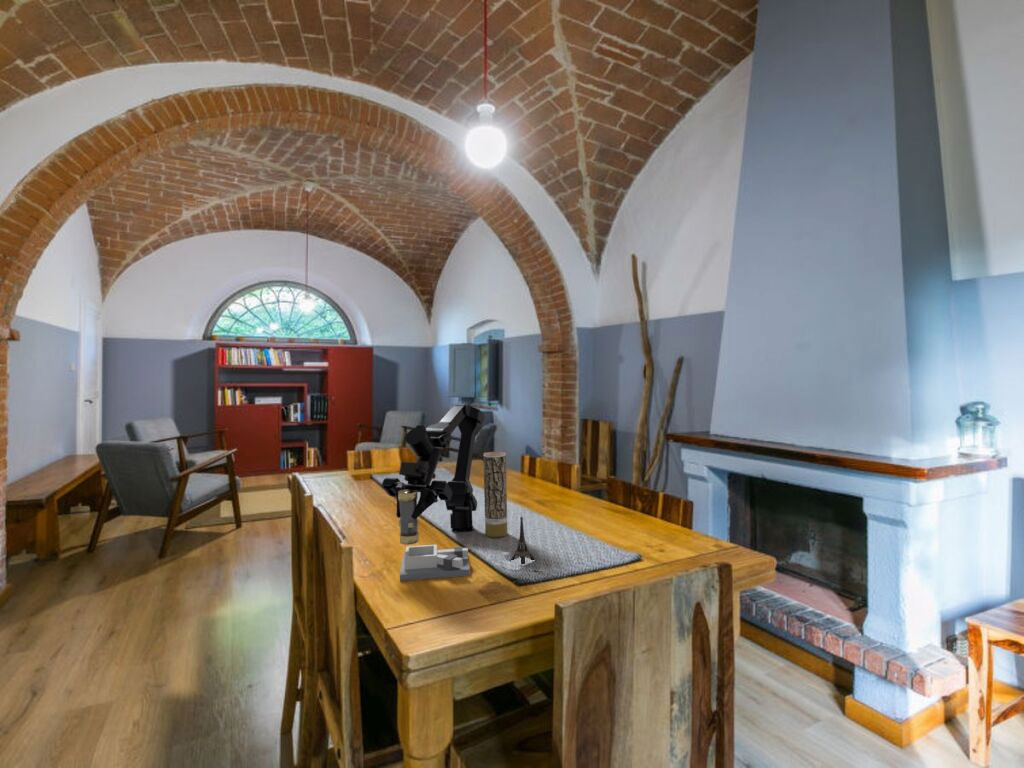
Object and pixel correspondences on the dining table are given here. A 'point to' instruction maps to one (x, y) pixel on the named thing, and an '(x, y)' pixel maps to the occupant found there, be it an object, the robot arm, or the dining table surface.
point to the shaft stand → (433, 563)
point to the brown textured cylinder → (495, 494)
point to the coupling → (408, 517)
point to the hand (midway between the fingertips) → (405, 517)
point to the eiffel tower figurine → (522, 546)
